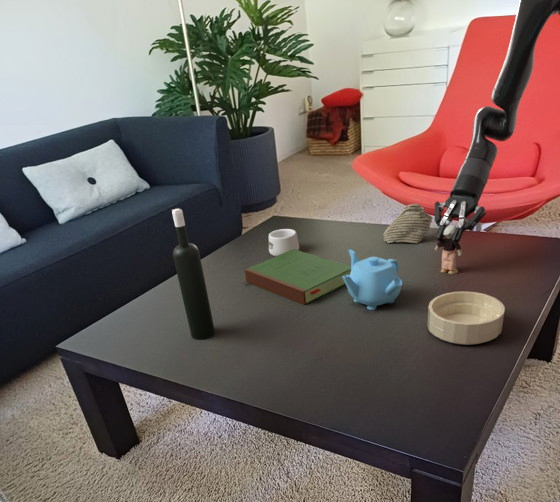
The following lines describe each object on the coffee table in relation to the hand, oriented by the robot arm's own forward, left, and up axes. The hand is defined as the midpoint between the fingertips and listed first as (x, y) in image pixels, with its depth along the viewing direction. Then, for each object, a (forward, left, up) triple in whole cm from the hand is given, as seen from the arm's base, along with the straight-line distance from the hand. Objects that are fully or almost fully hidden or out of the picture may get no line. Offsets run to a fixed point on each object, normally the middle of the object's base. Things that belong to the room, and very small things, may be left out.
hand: (446, 241), depth 135 cm
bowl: (-17, +25, -9) cm, 32 cm away
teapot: (+8, +23, -9) cm, 26 cm away
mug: (+52, +6, -9) cm, 53 cm away
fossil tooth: (+21, -18, -9) cm, 29 cm away
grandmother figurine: (0, -2, -9) cm, 10 cm away
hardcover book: (+32, +22, -9) cm, 40 cm away
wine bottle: (+34, +57, -9) cm, 67 cm away
